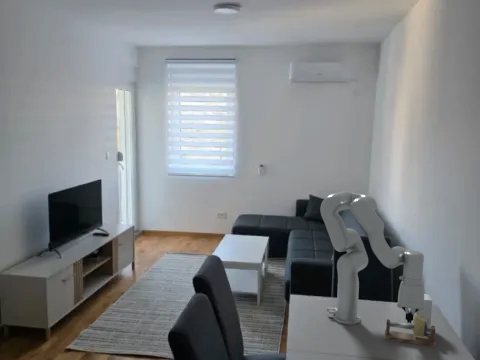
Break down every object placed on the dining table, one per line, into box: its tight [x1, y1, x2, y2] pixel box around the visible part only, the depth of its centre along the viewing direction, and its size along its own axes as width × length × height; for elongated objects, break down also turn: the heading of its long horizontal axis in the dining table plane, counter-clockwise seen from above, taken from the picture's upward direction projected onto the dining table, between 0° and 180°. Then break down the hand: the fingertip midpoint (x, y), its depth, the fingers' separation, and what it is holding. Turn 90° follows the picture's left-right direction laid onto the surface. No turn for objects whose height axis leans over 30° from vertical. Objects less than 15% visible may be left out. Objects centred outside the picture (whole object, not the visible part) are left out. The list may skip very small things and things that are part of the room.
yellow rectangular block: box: [412, 315, 425, 337], centre depth 190 cm, size 4×5×7 cm
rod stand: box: [384, 319, 437, 348], centre depth 191 cm, size 20×6×8 cm, turn 74°
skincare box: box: [413, 293, 433, 335], centre depth 200 cm, size 8×7×16 cm
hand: (409, 321), depth 190 cm, fingers closed
